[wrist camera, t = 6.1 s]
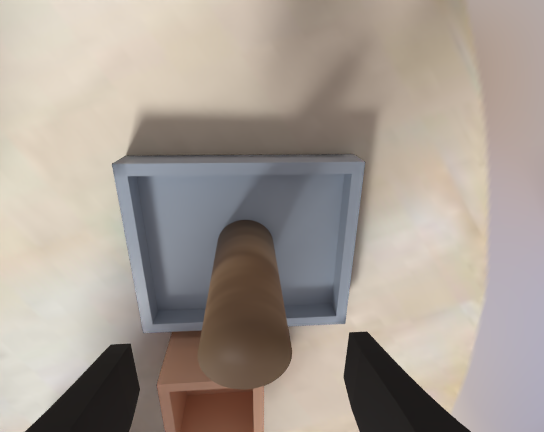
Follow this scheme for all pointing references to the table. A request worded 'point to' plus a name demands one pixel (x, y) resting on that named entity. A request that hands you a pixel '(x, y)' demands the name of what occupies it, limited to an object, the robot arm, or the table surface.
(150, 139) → the table surface
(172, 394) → the hollow square block
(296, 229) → the tray
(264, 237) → the dowel
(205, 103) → the table surface
